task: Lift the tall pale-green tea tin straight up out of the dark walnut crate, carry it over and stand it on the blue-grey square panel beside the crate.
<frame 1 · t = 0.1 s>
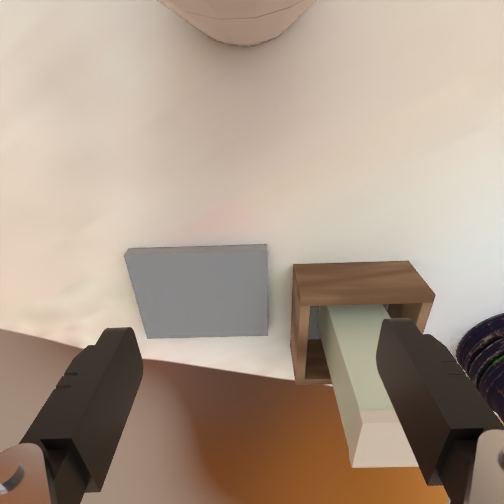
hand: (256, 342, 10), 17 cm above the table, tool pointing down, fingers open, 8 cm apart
tea tin: (364, 360, 26), in the crate
crate: (344, 306, 32), on the table
blue-grey square panel: (203, 290, 31), on the table
dark blue cylinder: (501, 343, 35), on the table
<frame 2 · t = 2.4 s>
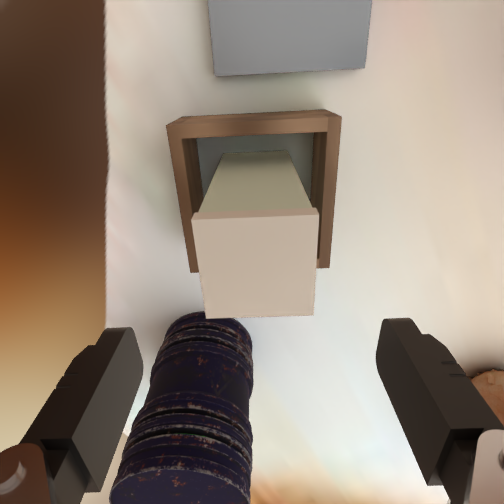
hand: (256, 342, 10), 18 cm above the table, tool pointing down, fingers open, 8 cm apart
tea tin: (256, 214, 20), in the crate
crate: (256, 183, 26), on the table
onion: (484, 380, 37), on the table
dark blue cylinder: (208, 344, 35), on the table
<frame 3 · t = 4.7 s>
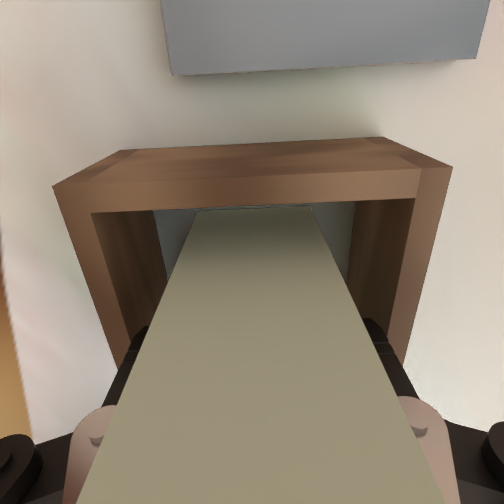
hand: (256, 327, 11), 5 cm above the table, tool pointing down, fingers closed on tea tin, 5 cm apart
tea tin: (258, 371, 9), in the crate, touching gripper
crate: (256, 257, 15), on the table
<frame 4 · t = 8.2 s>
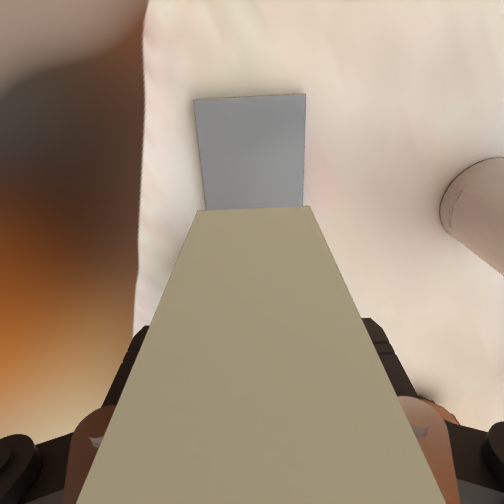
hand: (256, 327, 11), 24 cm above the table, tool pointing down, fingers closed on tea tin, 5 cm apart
tea tin: (258, 370, 9), point 26 cm above the table, touching gripper
blue-grey square panel: (252, 164, 32), on the table
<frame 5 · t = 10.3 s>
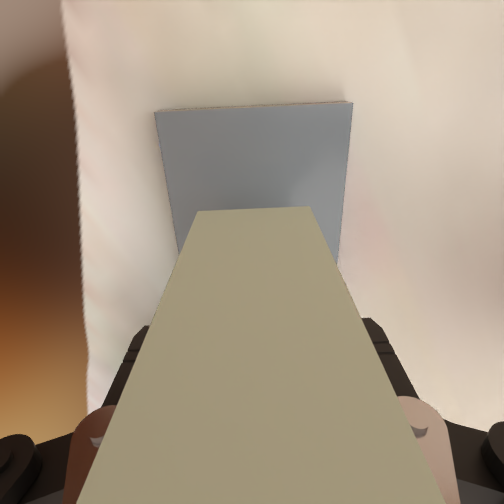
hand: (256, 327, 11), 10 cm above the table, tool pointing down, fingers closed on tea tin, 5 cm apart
tea tin: (258, 370, 9), point 12 cm above the table, touching gripper
blue-grey square panel: (257, 214, 20), on the table
when the fingers open (7 cm above the table, at t = 11.9 s): tea tin drops 1 cm, resting on blue-grey square panel.
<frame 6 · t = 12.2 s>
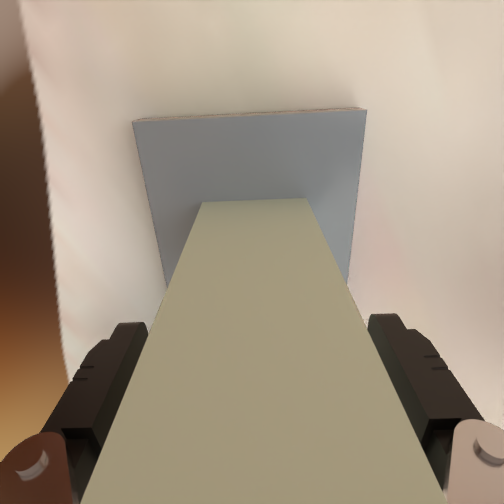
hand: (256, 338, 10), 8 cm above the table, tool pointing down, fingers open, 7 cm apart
tea tin: (258, 341, 10), on the blue-grey square panel, point 8 cm above the table
blue-grey square panel: (254, 235, 17), on the table
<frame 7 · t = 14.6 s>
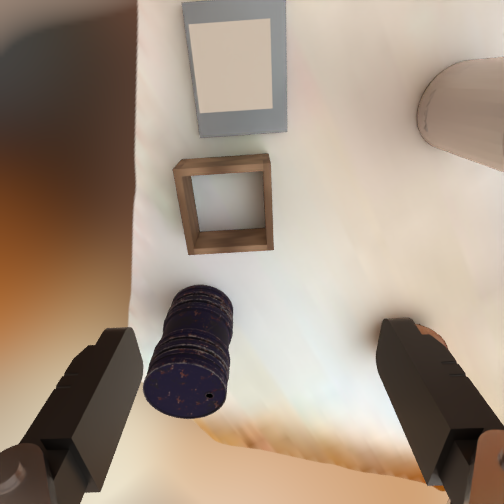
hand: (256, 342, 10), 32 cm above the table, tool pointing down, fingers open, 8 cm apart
tea tin: (236, 71, 27), on the blue-grey square panel, point 8 cm above the table
crate: (229, 198, 41), on the table
blue-grey square panel: (239, 72, 34), on the table
dark blue cylinder: (202, 309, 50), on the table
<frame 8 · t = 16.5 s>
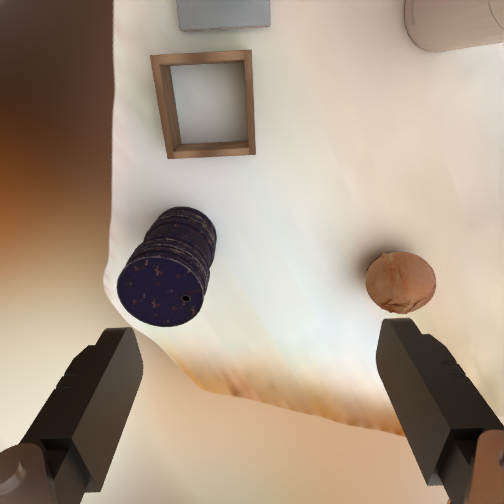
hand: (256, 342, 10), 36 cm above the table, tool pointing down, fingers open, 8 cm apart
crate: (211, 105, 40), on the table
onion: (387, 266, 51), on the table
dark blue cylinder: (185, 235, 49), on the table
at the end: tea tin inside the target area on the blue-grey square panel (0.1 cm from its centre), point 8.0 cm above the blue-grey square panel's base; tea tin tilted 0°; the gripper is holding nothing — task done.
